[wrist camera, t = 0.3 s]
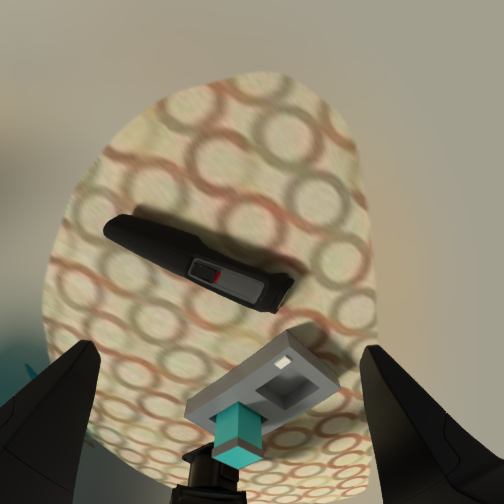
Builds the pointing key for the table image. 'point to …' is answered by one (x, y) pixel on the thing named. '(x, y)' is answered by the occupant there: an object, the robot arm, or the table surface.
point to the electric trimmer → (199, 262)
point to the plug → (238, 436)
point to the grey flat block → (268, 386)
